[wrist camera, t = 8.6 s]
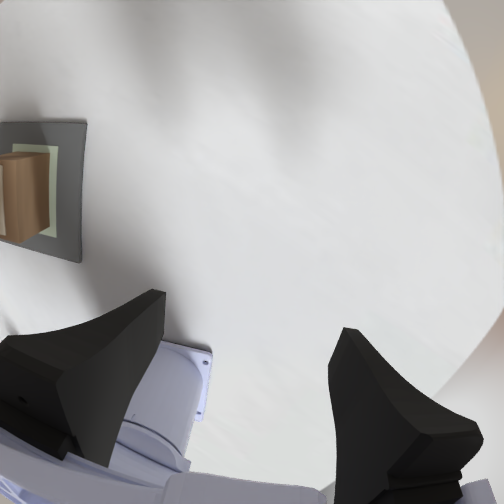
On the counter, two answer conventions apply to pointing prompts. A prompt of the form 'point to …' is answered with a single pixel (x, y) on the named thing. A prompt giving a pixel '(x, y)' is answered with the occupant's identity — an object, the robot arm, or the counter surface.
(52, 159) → the mat
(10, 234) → the cardboard box
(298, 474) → the counter surface
